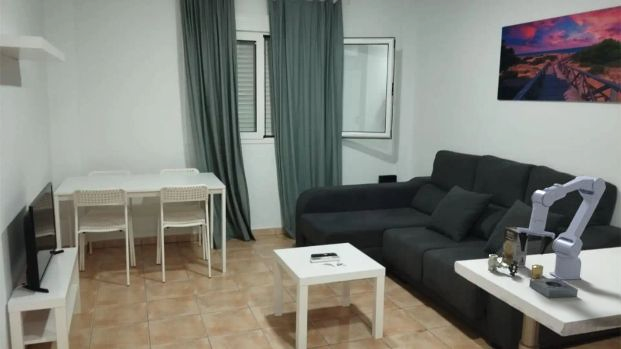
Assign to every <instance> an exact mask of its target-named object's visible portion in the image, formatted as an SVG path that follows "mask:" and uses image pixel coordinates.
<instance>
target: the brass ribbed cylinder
mask: <svg viewBox="0 0 621 349" xmlns="http://www.w3.org/2000/svg"><path fill="white" fill-rule="evenodd" d="M539 265H540V264H532V265H531V272H530V273H531V274H530V279H543V278H542V277H543V275H542V268H543V269H544V266H543V265H542V266H543V267H542V266H539Z"/></svg>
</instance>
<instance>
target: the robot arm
mask: <svg viewBox="0 0 621 349" xmlns="http://www.w3.org/2000/svg"><path fill="white" fill-rule="evenodd" d="M606 188H607V187H606V182H605V180H604V179H603V178H602V177H596V176H589V175H585V174H580V175H577V176H576V177H575V178H574V179H572V180H570V181H568V182H567V183H564V184H560V183H554V184H553V185H552V186H550V187H546V188H544V189H543V190H542V189H537V190H535V191H534V192H533V194H532V195H531V202H532V205H531V206H532V211H531V216H530V220H529V226H528V227H527V228H525V227H520V226H519V227H517V226H516V227H517V232H518V235H519V239H520V244H521V251H523V252H524V250H525V245H526V241H527V239H528V240H529V235H532V236H537V237H541V240H540V242H541V243H540V248H539V254H540V255H542V256H543V255H544V253H545V251H546V249H547V248H548V246H549V245H550V244H551V243H552V250H553V251H554V255H555V260H554V261H555V263H554V271H549V274H550V275H552V276H554V278H558V279H560V280H561V281H564V280H580V279H582V276H581V270H582V260H581V258H580V257H579V256H580V254H581V252H582V251H581V250H582V246H583V245H584V243H583V241H582V240H581V238H580V237H581V236H582V234H583V232H584V231H585V228H586V226H588V225H587V224H588V223H589V221H590V219H591V217H592V216H593V214H594V212H595V209H596V208H597V206H598V204H599V203H600V202H599V201H600V199H601V198H602V196H603V194H604V192H605V191H606ZM576 190H577V191H578V193H579V194H580V196H581V197H582V199H583V200H582V202H581V204H580V205H579V207H578V209H577V211H576V213H575V215H574V217H573V218H572V221H571V222H570V224H569V226H568V228H567V229H566V231H565V232H561V233H560V234H559V235H558V236H557V238H556V237H555V236H556V234H555V233H554V232H550V231H545V229H546V224H547V218H548V213H549V209H550V207H551V206H553V204H554V202H556V201H558V200H560V199H562V198H564V197H566V195H567V193H570V192H574V191H576ZM526 234H528V236H527V235H526ZM553 239H554V241H553Z"/></svg>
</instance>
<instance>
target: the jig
mask: <svg viewBox="0 0 621 349" xmlns="http://www.w3.org/2000/svg"><path fill="white" fill-rule="evenodd" d="M528 287H529V288H531V289H533V290H534V291H536V292H537V293H539V294H541V295H542V296H544V297H545V298H548V299H561V298H577V297H578V293H579V292H578V290H579V289H578V288H577V287H574V286H572V284H569V283H567V282H565V281H564V280H561V279H559V278H557V277H554V278H552V277H551V278H542V279H531V278H530V279H529V286H528Z"/></svg>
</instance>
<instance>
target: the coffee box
mask: <svg viewBox="0 0 621 349" xmlns="http://www.w3.org/2000/svg"><path fill="white" fill-rule="evenodd" d="M526 235H527V236H528V237H529V234H526ZM528 241H529V238H528V239H527V241H526V245H525V250H524V252H523V251H521V244H520V239H519V235H518V232H517V226H509V227H504V233H503V243H502V254H501V262H502V263H504V264H507V265H508V266H509V265H511V263H512V264H513V263H514V262H513V261H516V262H518V264H517V266H518V268H521V267H522V268H523V267H526V261H527V252H528V251H527V250H528Z"/></svg>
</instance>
